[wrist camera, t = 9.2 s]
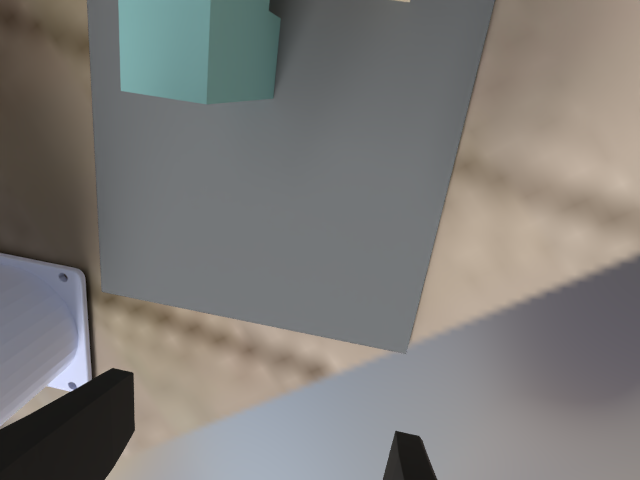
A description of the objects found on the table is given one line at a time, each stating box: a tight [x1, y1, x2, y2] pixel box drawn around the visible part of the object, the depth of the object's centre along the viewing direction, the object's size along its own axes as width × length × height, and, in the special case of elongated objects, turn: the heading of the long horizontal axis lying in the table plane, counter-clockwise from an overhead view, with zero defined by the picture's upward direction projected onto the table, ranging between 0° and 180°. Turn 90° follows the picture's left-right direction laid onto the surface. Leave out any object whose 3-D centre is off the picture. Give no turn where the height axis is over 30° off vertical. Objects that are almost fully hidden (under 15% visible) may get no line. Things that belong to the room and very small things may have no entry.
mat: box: [87, 0, 495, 354], centre depth 18 cm, size 16×20×1 cm
